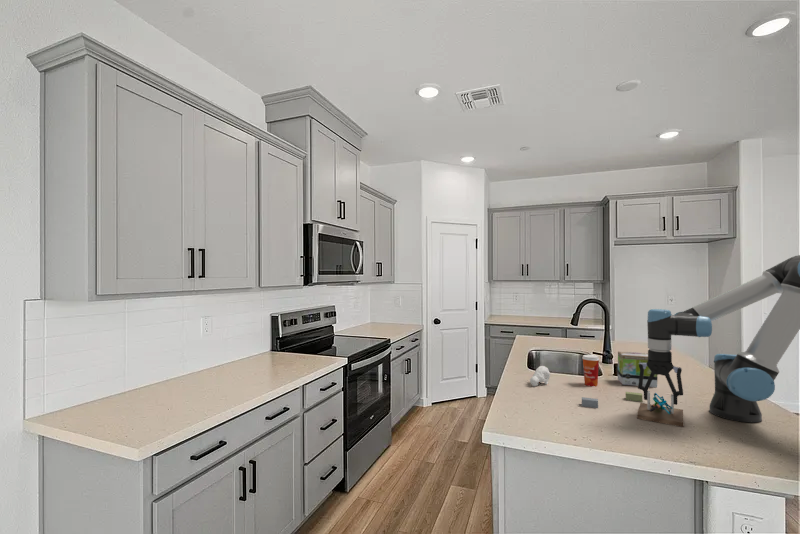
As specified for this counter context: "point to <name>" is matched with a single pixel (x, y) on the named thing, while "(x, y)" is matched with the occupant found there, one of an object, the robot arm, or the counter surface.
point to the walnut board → (661, 415)
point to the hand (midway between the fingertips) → (660, 410)
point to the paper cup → (590, 369)
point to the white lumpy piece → (540, 376)
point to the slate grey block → (589, 402)
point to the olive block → (634, 396)
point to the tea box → (633, 369)
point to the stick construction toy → (660, 404)
